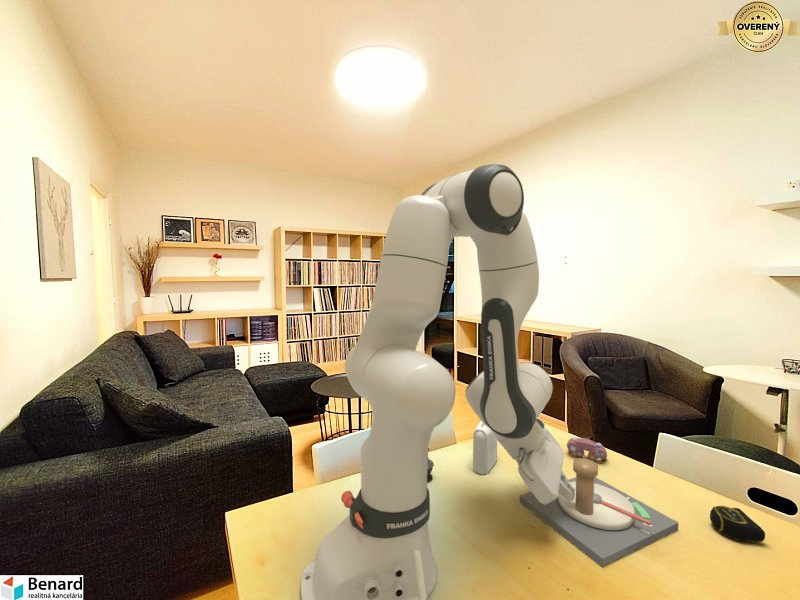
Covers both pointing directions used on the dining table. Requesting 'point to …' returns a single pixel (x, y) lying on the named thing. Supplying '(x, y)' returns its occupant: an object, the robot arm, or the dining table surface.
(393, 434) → the robot arm
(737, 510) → the tape measure
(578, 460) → the tuning dial
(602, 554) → the dial board
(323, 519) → the dining table surface
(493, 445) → the photo printer
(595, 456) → the pink toy car
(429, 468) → the dark grey chess piece
